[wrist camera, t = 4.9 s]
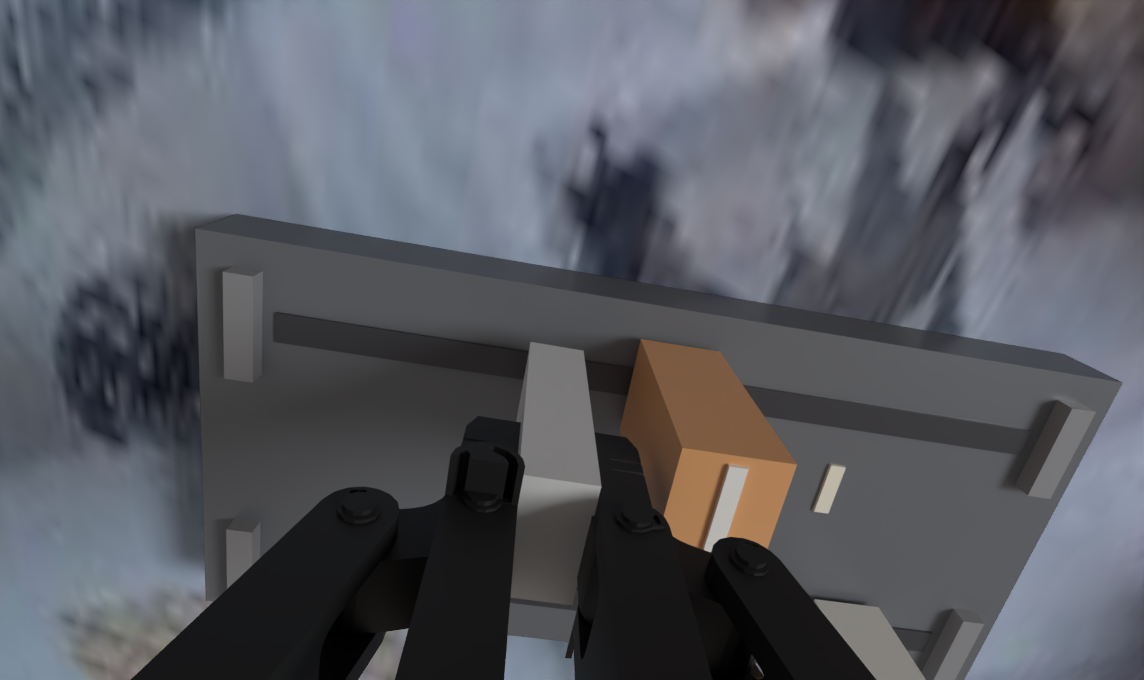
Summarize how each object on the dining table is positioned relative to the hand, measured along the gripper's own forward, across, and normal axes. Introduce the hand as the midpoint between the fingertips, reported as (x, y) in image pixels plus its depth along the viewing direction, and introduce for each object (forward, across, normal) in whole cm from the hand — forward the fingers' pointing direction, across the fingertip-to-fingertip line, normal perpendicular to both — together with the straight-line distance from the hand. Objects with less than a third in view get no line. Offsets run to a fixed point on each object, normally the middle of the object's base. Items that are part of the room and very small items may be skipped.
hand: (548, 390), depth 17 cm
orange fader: (+1, +4, 0) cm, 4 cm away
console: (+4, +4, -4) cm, 7 cm away
